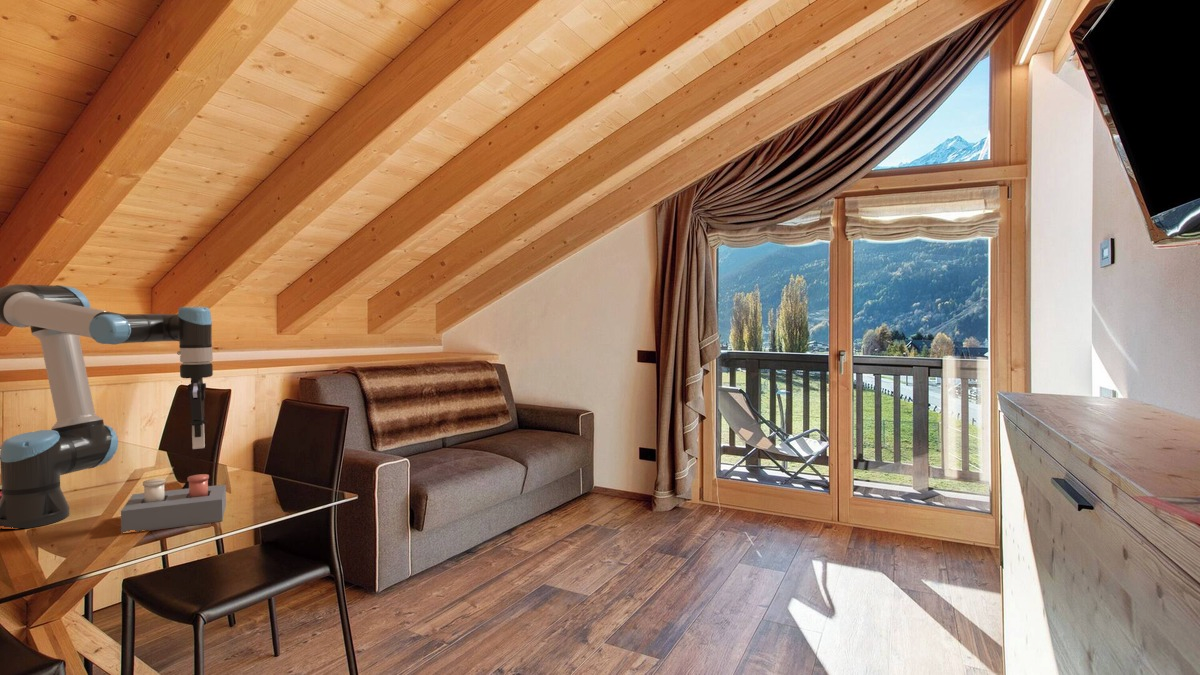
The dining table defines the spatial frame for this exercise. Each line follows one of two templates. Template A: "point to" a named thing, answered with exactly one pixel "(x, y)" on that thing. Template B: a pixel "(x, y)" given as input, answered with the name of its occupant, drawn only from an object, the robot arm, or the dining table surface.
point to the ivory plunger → (154, 490)
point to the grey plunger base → (174, 510)
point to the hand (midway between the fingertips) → (198, 447)
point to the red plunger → (198, 485)
